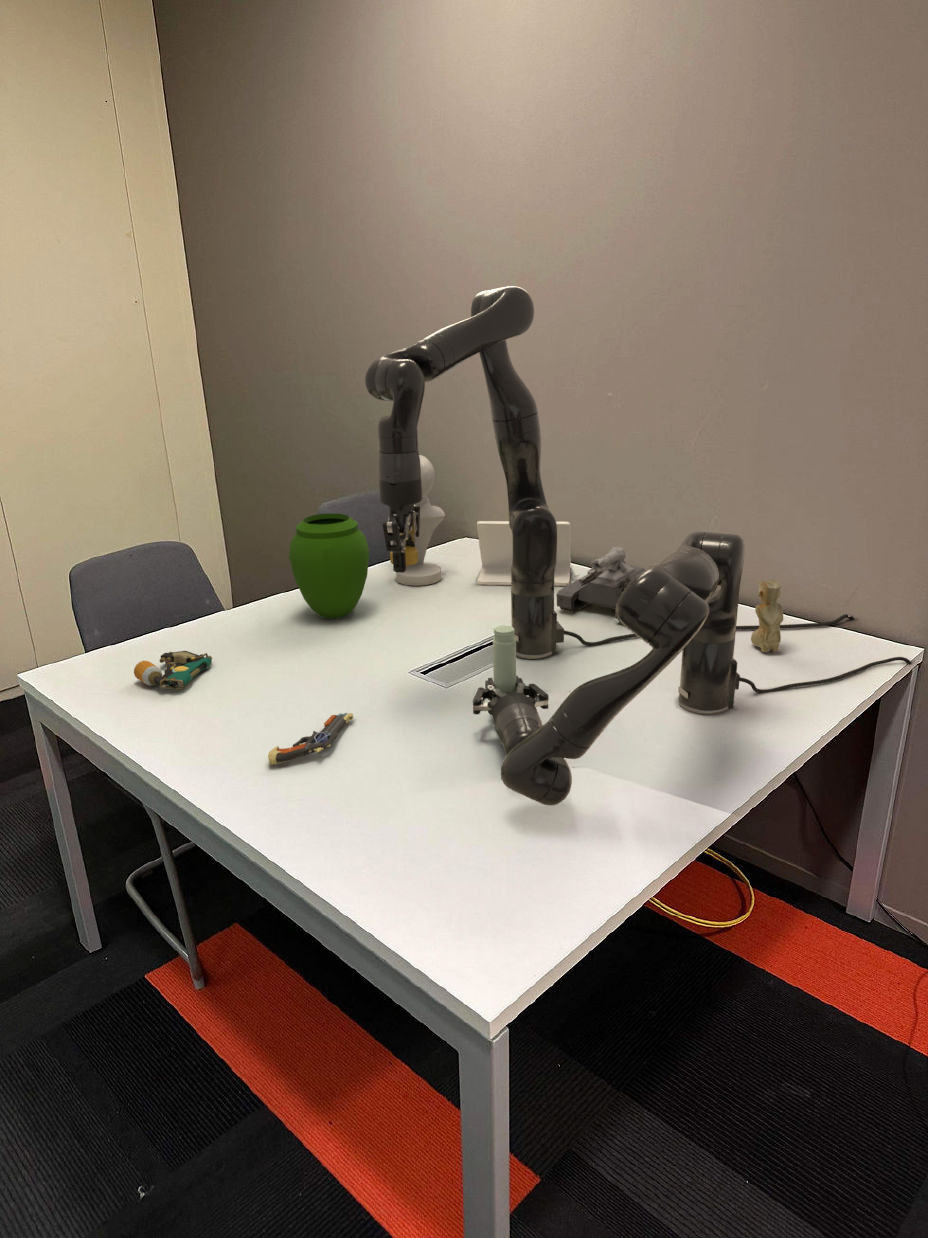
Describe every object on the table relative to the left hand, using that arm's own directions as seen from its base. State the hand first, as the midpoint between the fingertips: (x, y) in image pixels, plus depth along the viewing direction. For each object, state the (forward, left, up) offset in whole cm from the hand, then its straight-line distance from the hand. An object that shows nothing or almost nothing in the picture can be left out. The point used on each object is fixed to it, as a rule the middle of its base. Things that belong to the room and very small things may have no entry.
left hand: (404, 567), depth 158 cm
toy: (-58, -40, -27) cm, 75 cm away
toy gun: (+20, +13, -27) cm, 36 cm away
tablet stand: (-42, -70, -27) cm, 86 cm away
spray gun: (+47, -24, -27) cm, 59 cm away
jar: (-16, +13, -27) cm, 34 cm away
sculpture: (-78, -5, -27) cm, 83 cm away
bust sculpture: (-10, -78, -27) cm, 83 cm away
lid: (0, 0, +3) cm, 3 cm away
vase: (+12, -53, -27) cm, 61 cm away
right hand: (-16, +10, -21) cm, 28 cm away
